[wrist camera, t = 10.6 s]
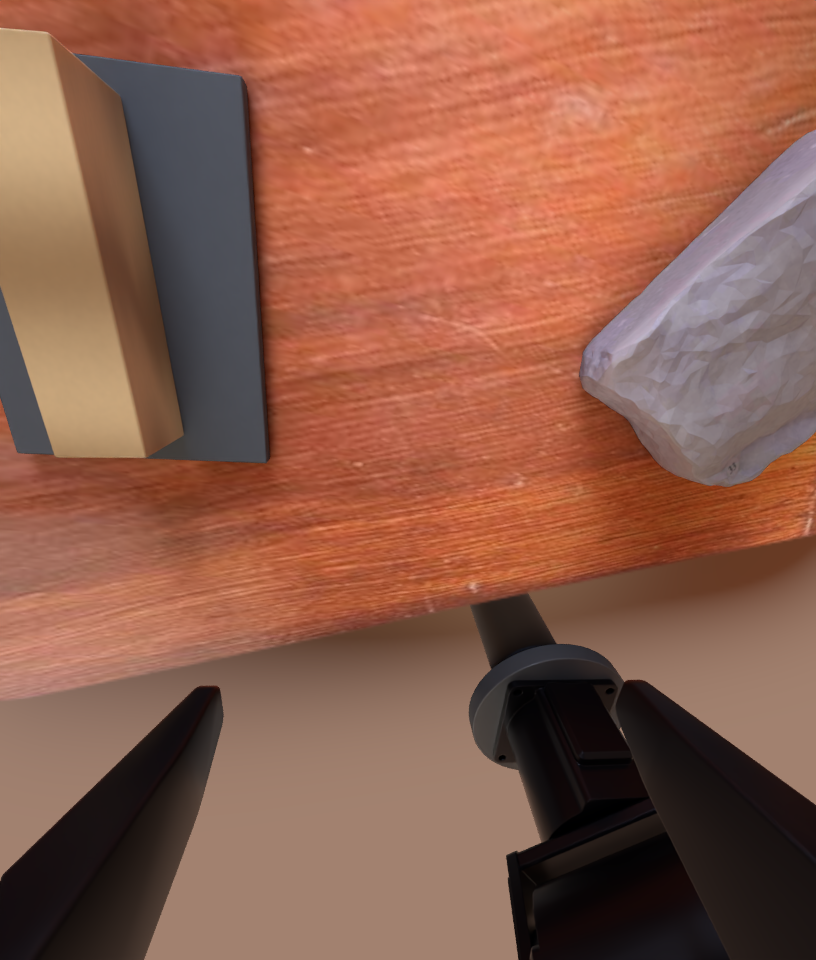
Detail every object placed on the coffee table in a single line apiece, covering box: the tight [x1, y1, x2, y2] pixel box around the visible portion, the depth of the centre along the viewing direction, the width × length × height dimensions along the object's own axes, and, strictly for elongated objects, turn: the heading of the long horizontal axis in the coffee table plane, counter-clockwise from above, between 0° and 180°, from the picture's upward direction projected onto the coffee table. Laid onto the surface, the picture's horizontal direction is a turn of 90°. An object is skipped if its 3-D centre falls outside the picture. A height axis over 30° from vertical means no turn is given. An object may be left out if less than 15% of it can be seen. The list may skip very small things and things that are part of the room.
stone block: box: [579, 130, 816, 487], centre depth 16 cm, size 12×5×10 cm
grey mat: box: [0, 53, 270, 463], centre depth 15 cm, size 13×10×1 cm
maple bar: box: [0, 28, 184, 458], centre depth 13 cm, size 11×3×3 cm, turn 178°
